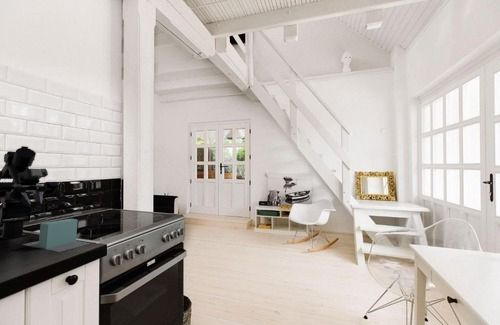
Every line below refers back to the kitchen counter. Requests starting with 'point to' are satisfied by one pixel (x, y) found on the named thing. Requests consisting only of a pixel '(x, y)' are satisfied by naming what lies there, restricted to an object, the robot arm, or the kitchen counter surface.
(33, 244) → the slate mat
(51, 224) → the teal block
